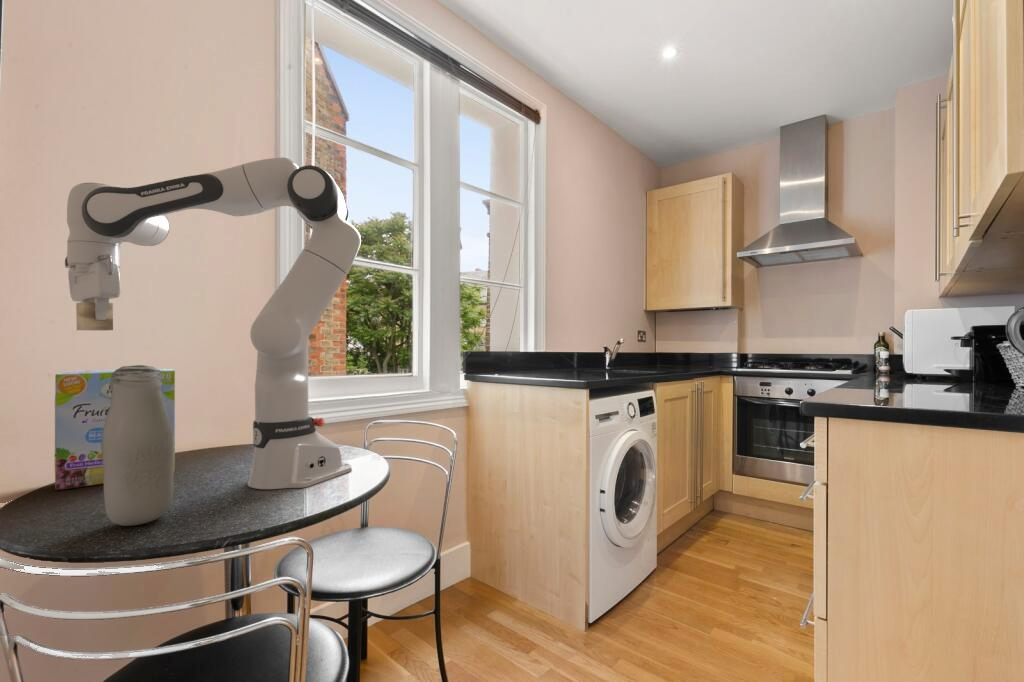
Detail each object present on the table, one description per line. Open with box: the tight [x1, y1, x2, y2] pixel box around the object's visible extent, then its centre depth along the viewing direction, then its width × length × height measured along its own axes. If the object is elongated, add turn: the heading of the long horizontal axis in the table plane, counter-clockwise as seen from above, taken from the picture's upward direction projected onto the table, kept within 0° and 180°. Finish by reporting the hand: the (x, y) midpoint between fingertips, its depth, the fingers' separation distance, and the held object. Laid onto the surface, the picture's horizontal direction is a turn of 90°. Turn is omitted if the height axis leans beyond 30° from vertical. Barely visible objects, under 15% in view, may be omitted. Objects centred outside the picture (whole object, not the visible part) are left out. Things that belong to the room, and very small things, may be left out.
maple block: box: [75, 302, 114, 331], centre depth 105 cm, size 5×5×6 cm
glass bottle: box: [101, 364, 174, 527], centre depth 84 cm, size 10×10×28 cm
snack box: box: [54, 368, 176, 491], centre depth 112 cm, size 22×9×26 cm, turn 129°
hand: (95, 320), depth 106 cm, fingers closed on maple block, 5 cm apart
